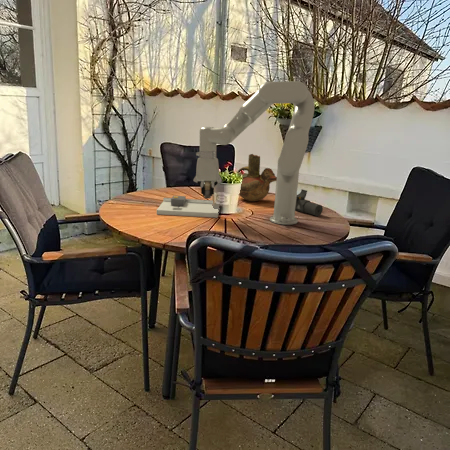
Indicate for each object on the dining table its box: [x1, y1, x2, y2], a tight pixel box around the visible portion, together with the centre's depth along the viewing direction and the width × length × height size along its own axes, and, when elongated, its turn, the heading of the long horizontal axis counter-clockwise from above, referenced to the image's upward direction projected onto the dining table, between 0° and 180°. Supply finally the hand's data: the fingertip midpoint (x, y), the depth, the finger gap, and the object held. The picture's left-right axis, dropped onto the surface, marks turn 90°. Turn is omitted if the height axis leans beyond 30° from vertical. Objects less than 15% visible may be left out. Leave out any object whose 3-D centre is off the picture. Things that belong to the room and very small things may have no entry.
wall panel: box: [156, 197, 220, 218], centre depth 203 cm, size 24×28×4 cm
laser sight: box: [295, 188, 323, 217], centre depth 212 cm, size 10×22×10 cm, turn 36°
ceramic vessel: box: [237, 153, 277, 202], centre depth 227 cm, size 17×26×25 cm, turn 61°
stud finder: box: [170, 195, 187, 206], centre depth 205 cm, size 8×6×3 cm
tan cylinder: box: [203, 181, 212, 200], centre depth 193 cm, size 3×3×8 cm
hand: (207, 195), depth 194 cm, fingers closed on tan cylinder, 3 cm apart
